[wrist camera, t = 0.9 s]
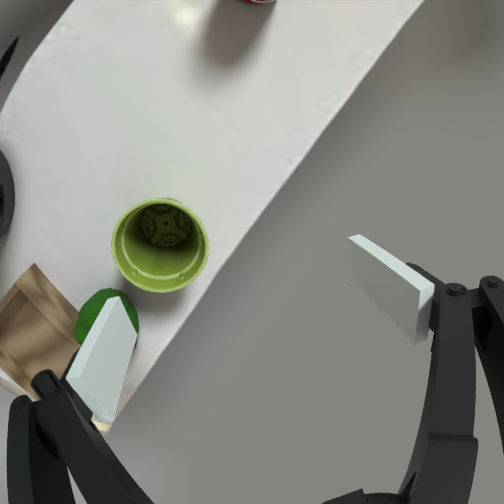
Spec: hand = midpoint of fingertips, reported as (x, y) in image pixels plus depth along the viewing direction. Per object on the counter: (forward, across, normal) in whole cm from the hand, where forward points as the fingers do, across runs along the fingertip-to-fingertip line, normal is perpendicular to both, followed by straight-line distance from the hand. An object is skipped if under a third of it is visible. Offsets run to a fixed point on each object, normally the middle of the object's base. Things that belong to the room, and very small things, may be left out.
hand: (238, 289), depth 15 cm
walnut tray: (+20, -33, -12) cm, 40 cm away
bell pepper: (+20, -18, -9) cm, 28 cm away
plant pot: (+21, -7, 0) cm, 22 cm away
